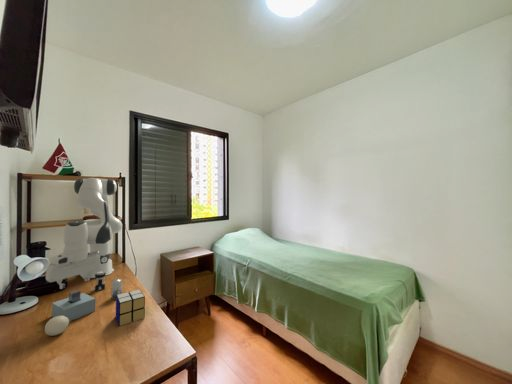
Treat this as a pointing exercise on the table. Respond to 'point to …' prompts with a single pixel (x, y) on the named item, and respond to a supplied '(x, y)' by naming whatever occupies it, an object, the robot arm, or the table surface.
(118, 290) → the round bit
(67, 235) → the robot arm
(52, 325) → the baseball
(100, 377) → the table surface
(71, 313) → the socket block
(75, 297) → the square bit
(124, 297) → the puzzle cube
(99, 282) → the push button
